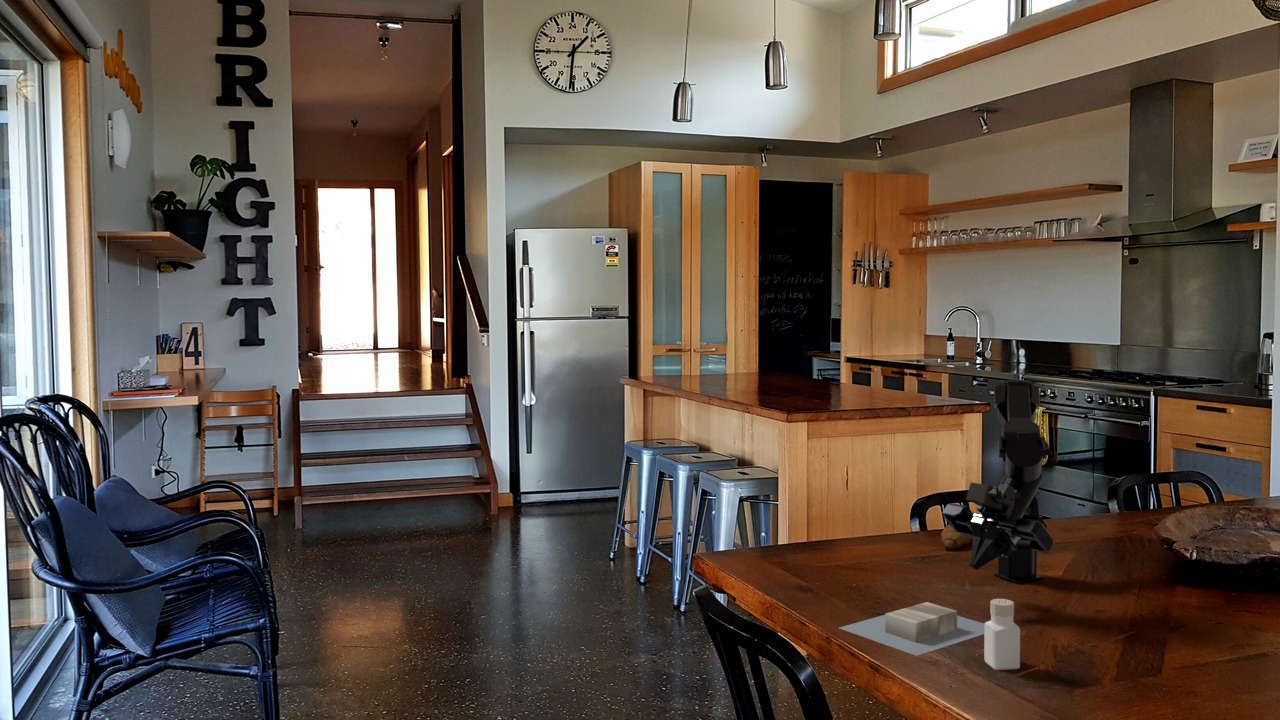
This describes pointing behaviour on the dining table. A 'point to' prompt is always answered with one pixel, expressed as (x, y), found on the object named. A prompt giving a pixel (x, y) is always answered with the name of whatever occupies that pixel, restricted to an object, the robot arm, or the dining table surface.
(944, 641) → the mat
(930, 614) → the beige streaked block
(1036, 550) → the robot arm
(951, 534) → the croissant
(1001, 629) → the pepper shaker
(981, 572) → the dining table surface
